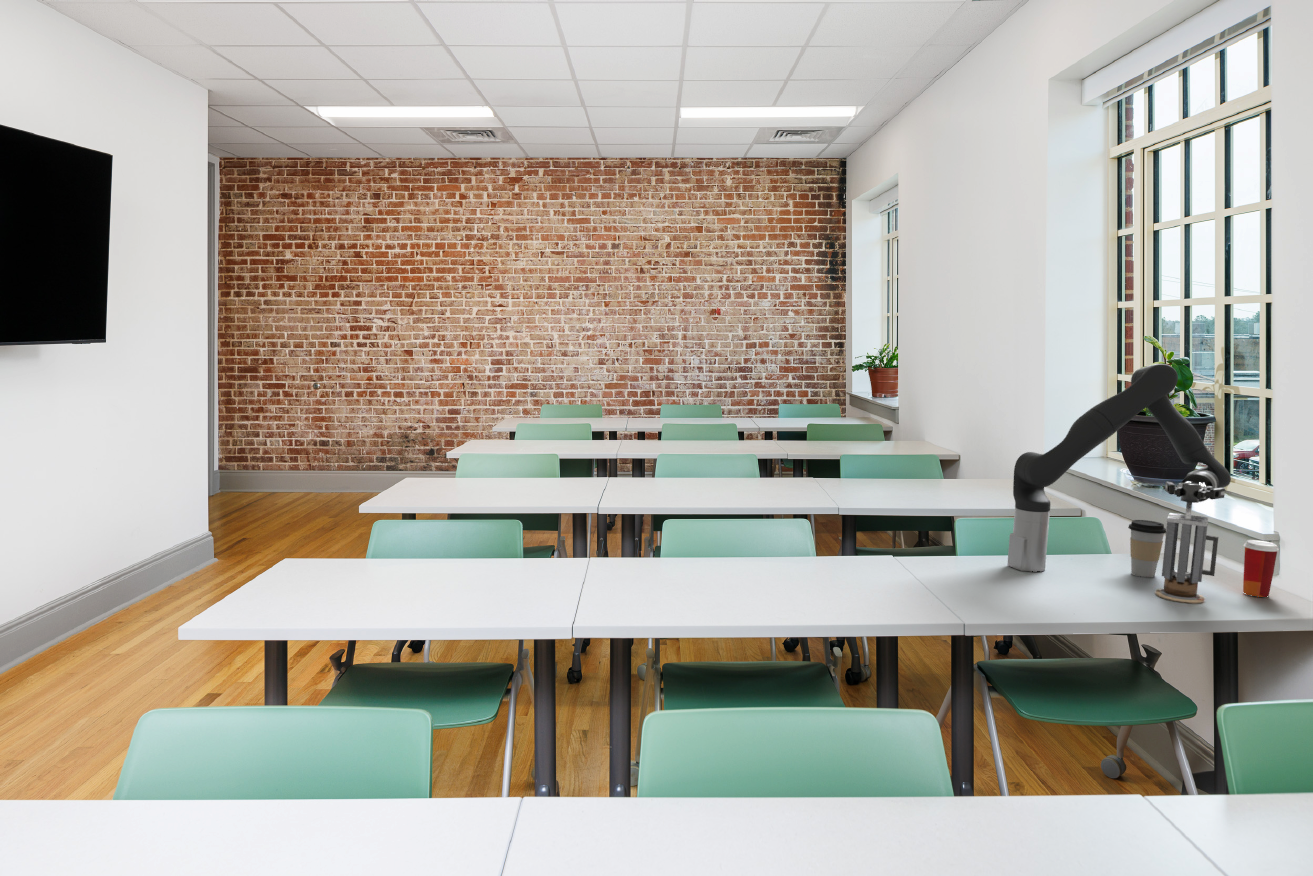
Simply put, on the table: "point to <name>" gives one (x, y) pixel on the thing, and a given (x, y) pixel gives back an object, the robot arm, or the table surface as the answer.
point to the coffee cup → (1145, 546)
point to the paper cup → (1259, 567)
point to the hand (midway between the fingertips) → (1188, 494)
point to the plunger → (1188, 507)
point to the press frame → (1185, 559)
